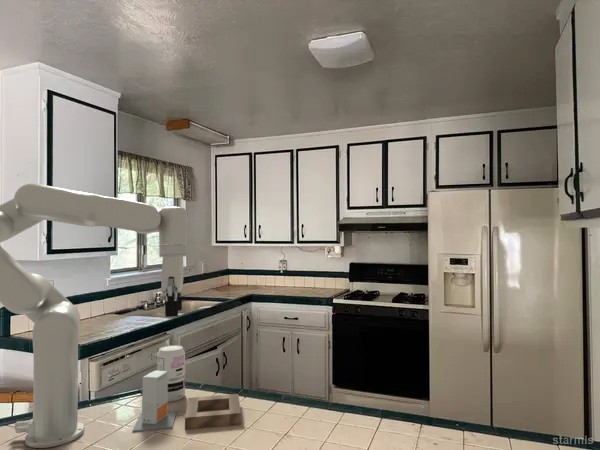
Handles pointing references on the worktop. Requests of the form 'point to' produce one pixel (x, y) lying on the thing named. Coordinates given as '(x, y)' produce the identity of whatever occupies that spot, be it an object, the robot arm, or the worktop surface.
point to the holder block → (213, 418)
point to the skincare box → (154, 397)
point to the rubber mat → (162, 424)
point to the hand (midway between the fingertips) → (173, 313)
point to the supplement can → (173, 370)
